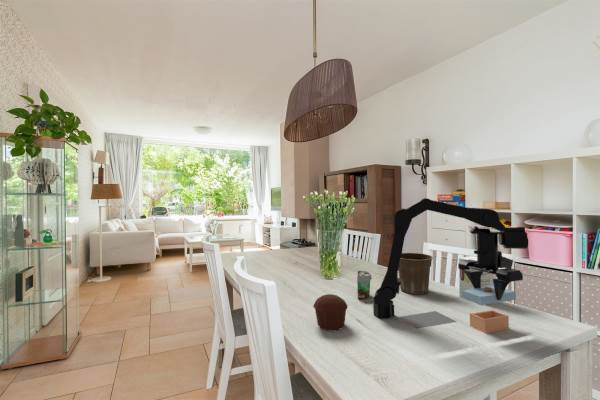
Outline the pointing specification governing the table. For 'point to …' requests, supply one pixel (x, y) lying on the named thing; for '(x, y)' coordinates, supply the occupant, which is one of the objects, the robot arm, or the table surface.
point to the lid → (486, 295)
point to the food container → (363, 284)
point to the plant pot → (414, 272)
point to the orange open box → (489, 321)
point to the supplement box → (466, 283)
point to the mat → (426, 319)
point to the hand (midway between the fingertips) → (488, 296)
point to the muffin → (330, 312)
